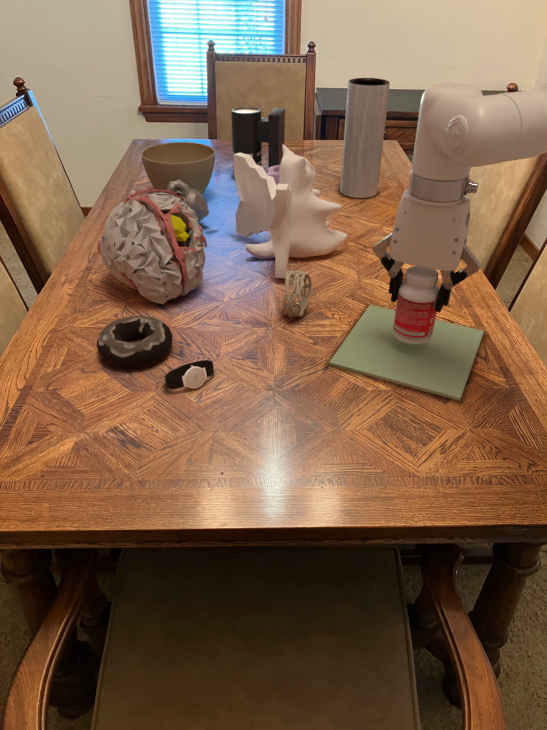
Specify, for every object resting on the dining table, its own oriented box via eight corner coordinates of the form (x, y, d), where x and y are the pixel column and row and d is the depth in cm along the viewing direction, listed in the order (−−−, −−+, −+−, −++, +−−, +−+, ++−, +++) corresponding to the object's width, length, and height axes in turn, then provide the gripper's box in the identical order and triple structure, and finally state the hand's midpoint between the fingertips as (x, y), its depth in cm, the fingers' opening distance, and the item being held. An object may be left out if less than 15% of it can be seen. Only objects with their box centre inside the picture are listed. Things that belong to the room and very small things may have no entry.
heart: (216, 233, 130) (211, 177, 124) (175, 238, 127) (168, 182, 122) (206, 224, 138) (200, 173, 133) (167, 229, 136) (160, 176, 130)
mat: (483, 333, 96) (484, 330, 96) (459, 401, 82) (460, 398, 81) (369, 307, 103) (369, 304, 103) (328, 365, 89) (329, 362, 88)
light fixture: (237, 171, 168) (235, 105, 158) (284, 173, 166) (285, 107, 156) (229, 181, 160) (227, 113, 150) (278, 184, 158) (278, 115, 148)
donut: (176, 367, 88) (174, 346, 86) (97, 377, 86) (92, 355, 84) (171, 328, 97) (169, 307, 95) (100, 336, 95) (95, 315, 93)
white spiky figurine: (365, 268, 116) (377, 161, 104) (268, 287, 109) (268, 175, 97) (312, 225, 135) (316, 130, 122) (226, 238, 128) (221, 140, 116)
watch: (174, 399, 82) (172, 378, 80) (159, 383, 85) (156, 363, 83) (220, 380, 85) (219, 360, 83) (204, 365, 89) (203, 345, 86)
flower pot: (133, 206, 144) (126, 157, 137) (170, 184, 158) (165, 139, 151) (196, 216, 139) (192, 166, 132) (229, 193, 152) (227, 146, 145)
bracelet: (279, 323, 99) (279, 282, 94) (289, 301, 105) (290, 261, 100) (302, 326, 98) (303, 285, 93) (311, 304, 104) (313, 264, 99)
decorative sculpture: (128, 336, 109) (156, 292, 92) (70, 244, 109) (87, 184, 92) (205, 298, 119) (243, 252, 102) (151, 214, 119) (180, 155, 102)
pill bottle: (433, 347, 88) (446, 282, 82) (393, 344, 89) (403, 280, 82) (429, 326, 93) (441, 263, 87) (391, 324, 94) (400, 262, 87)
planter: (337, 197, 150) (345, 84, 135) (342, 184, 158) (350, 76, 143) (376, 200, 149) (388, 86, 133) (378, 187, 157) (391, 78, 141)
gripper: (508, 187, 77) (479, 304, 87) (383, 169, 83) (370, 281, 93) (500, 205, 71) (470, 328, 82) (367, 185, 77) (355, 301, 88)
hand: (417, 302), depth 87 cm, fingers closed on pill bottle, 6 cm apart
